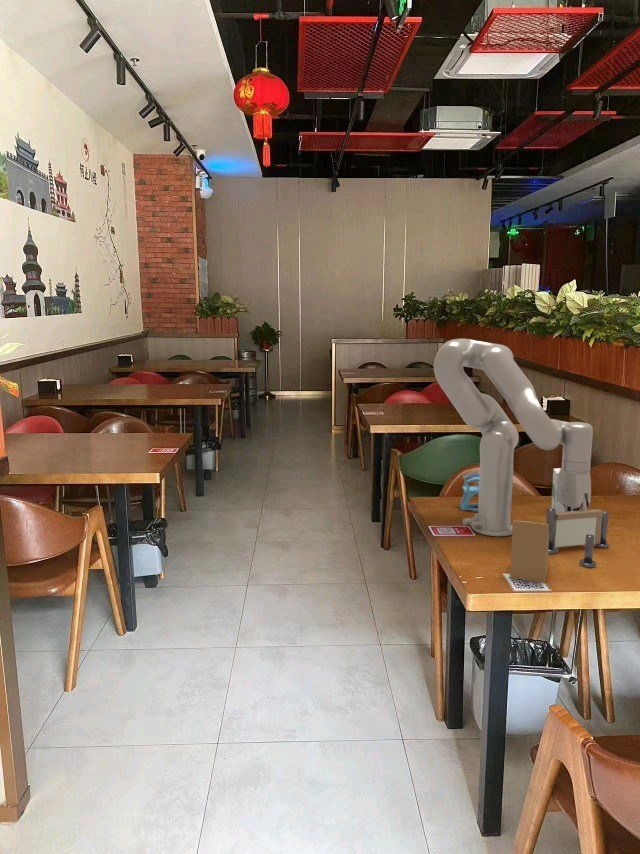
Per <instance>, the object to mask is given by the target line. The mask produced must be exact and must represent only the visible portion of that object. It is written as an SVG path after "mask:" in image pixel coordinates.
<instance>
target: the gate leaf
mask: <svg viewBox="0 0 640 854" xmlns="http://www.w3.org/2000/svg"><path fill="white" fill-rule="evenodd" d="M603 511H604V510H601V509H599V508H597V509H587V510H586V511H583V510H581V511H568V512H556V513H555V526H554V540H553V546H554V547H556V548H561V547H571V546H579V545H580V546H583V545H584V546H585V541H586V535H587V534H590V535H594V545H595V544H598V543H600V539H601V527H602V517H603Z"/></svg>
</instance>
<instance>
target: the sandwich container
mask: <svg viewBox="0 0 640 854" xmlns="http://www.w3.org/2000/svg"><path fill="white" fill-rule="evenodd" d="M512 525H513V526H512V535H511V550H510V551H511V553H510V574H509V575H510V576H509V578H512V579H518V580H523V581H530V582H537V583H542V582H543V583H544V584H545V582H546V579H547V575H548V568H549V554H548V544H549V525H548V524H546V523H542V522H534V521H528V520H526V521H525V520H515V519H513V521H512Z"/></svg>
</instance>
